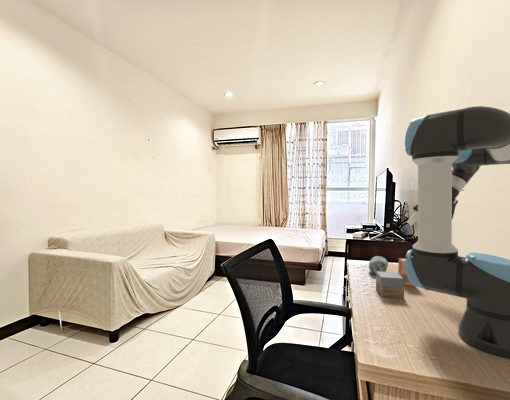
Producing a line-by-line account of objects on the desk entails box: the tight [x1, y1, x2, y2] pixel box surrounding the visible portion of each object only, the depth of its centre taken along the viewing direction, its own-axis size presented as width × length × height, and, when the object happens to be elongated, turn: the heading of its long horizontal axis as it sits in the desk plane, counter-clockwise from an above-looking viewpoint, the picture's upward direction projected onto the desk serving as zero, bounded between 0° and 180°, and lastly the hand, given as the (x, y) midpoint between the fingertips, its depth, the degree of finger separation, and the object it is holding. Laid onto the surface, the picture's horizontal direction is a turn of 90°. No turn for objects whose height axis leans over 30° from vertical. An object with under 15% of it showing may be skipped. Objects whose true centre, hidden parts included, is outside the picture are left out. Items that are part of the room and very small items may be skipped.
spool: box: [368, 255, 389, 275], centre depth 133 cm, size 14×10×10 cm
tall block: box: [397, 257, 415, 287], centre depth 116 cm, size 5×5×11 cm
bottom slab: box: [375, 280, 405, 299], centre depth 105 cm, size 8×8×4 cm
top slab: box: [375, 271, 404, 289], centre depth 105 cm, size 8×8×4 cm
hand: (419, 227), depth 113 cm, fingers open, 13 cm apart
